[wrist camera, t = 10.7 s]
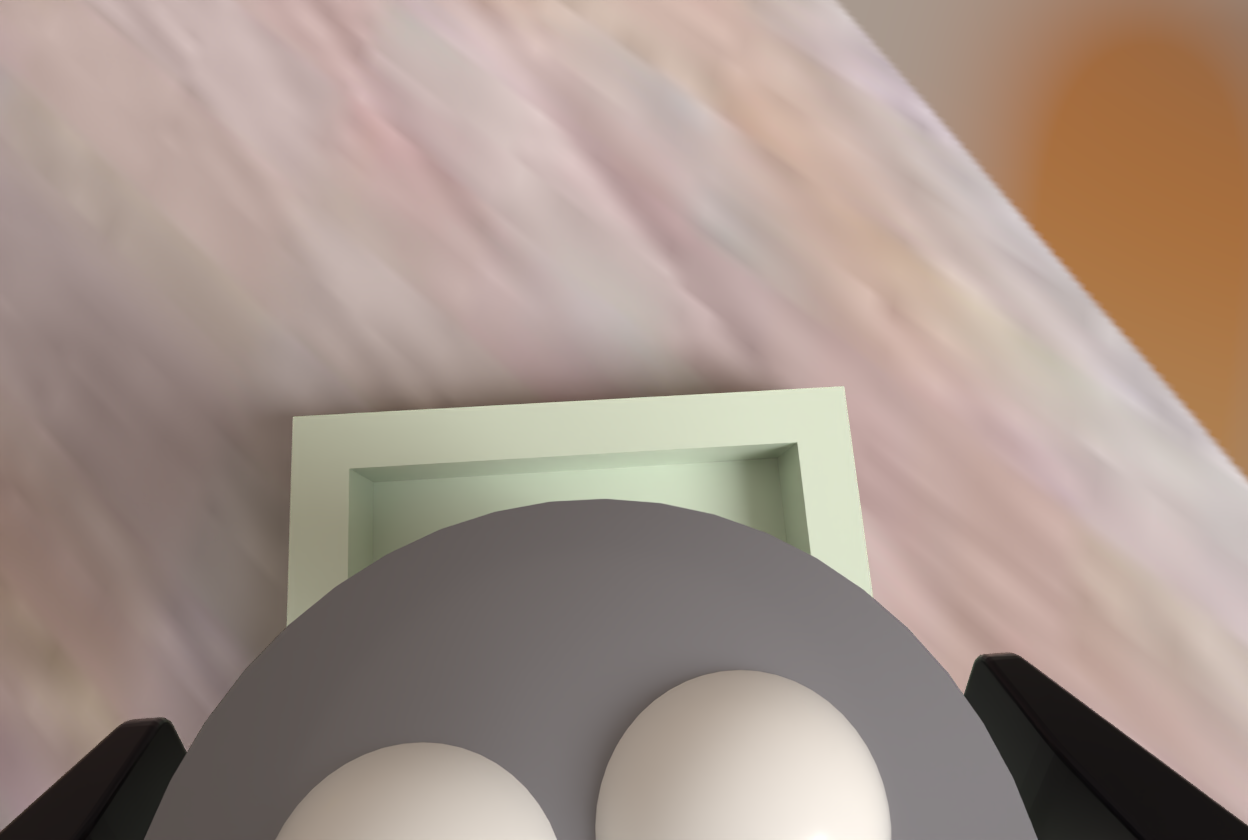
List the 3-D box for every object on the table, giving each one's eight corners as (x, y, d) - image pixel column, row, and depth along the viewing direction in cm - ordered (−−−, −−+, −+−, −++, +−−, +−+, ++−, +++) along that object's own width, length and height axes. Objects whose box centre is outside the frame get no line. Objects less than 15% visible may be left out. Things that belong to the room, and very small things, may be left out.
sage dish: (880, 945, 17) (928, 1002, 15) (320, 1000, 16) (273, 1069, 14) (812, 413, 20) (843, 386, 17) (330, 440, 19) (292, 416, 17)
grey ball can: (751, 709, 17) (1366, 1139, 4) (563, 867, 17) (455, 2198, 3) (612, 523, 18) (693, 304, 4) (425, 663, 17) (-190, 933, 4)
